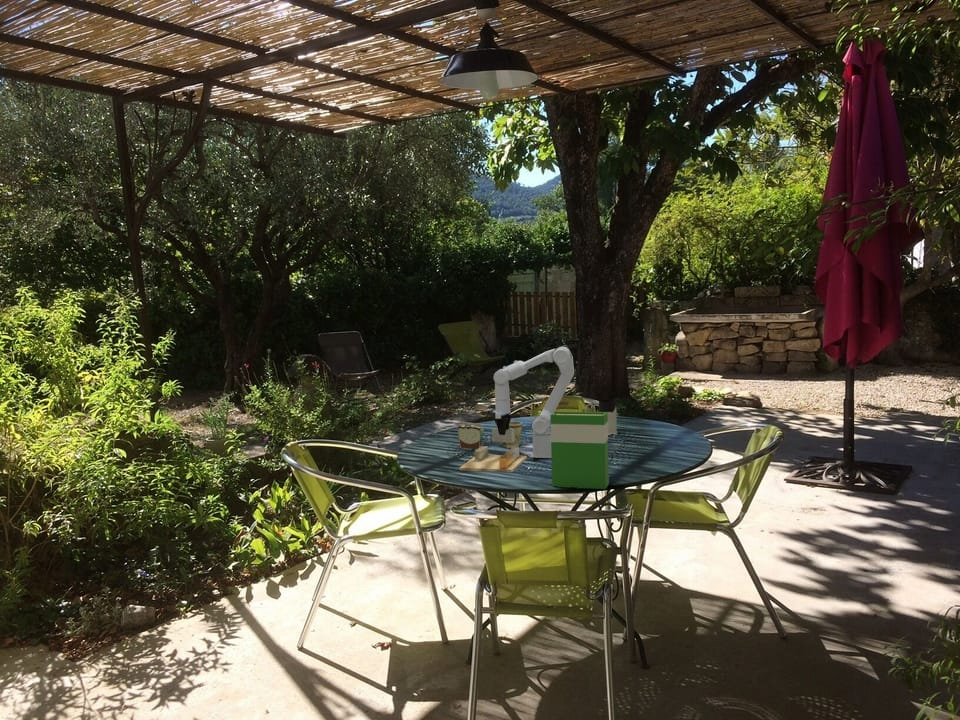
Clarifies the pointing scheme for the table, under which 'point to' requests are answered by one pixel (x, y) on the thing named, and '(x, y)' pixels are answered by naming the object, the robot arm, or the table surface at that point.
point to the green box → (580, 449)
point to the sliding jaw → (509, 457)
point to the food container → (470, 435)
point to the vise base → (489, 462)
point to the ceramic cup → (517, 432)
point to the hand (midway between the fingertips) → (503, 433)
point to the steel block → (503, 438)
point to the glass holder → (609, 414)
